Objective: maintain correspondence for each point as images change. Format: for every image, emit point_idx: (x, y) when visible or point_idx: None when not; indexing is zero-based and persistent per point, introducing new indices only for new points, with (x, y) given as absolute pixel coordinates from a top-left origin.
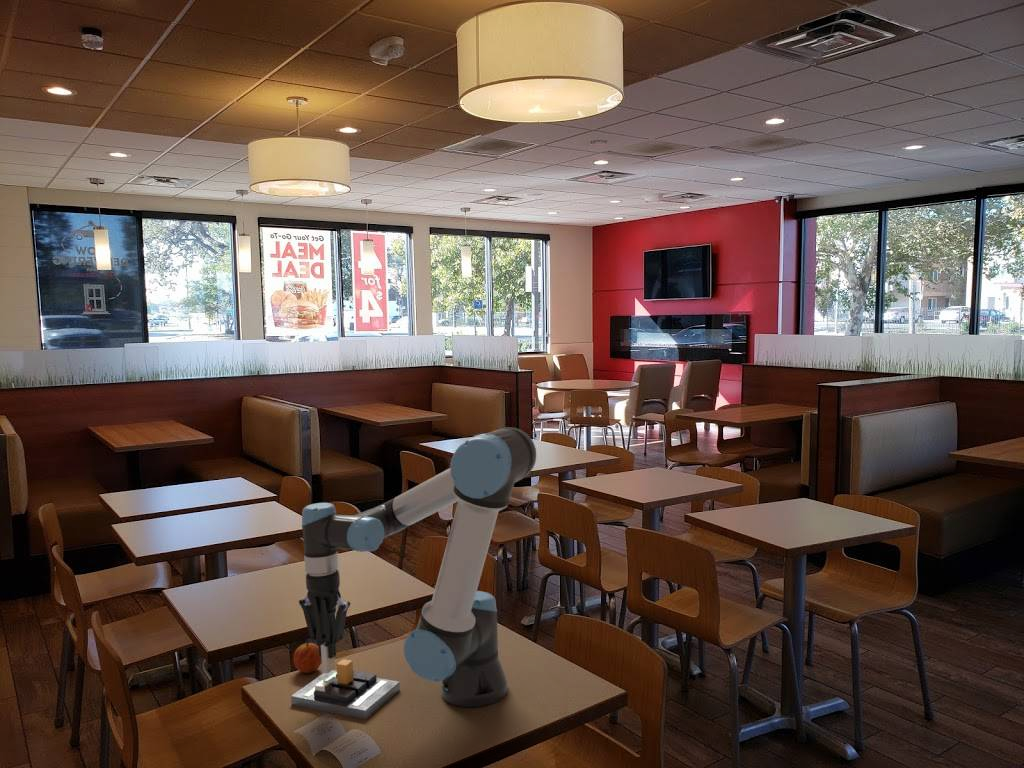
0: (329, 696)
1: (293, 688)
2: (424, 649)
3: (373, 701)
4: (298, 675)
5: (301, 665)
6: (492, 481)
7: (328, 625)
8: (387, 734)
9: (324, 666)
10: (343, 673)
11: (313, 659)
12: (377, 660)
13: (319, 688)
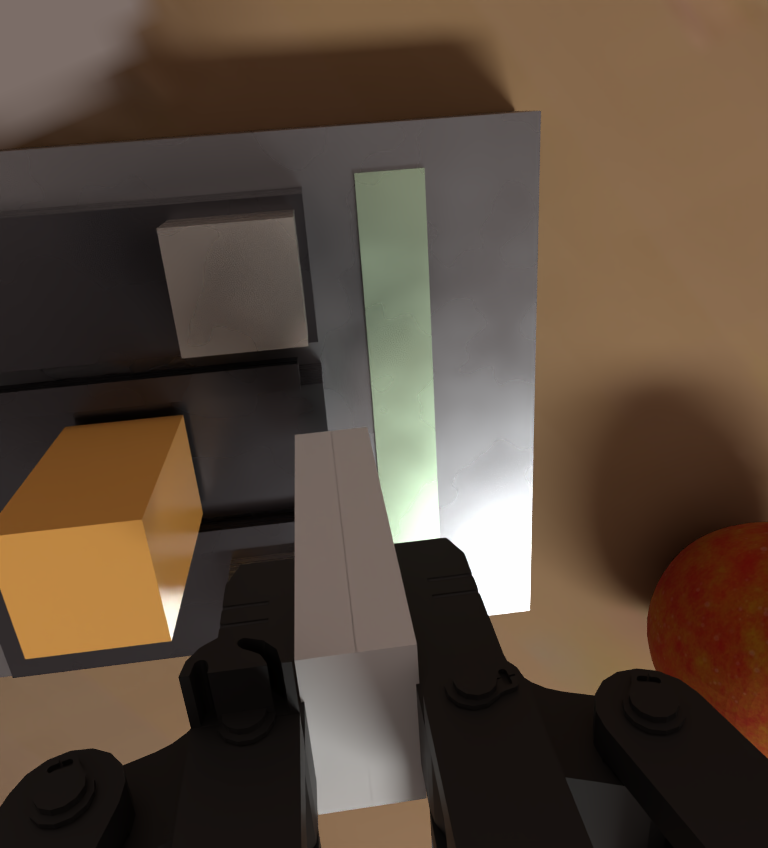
0: (100, 208)
1: (671, 339)
2: None
3: None
4: (750, 501)
5: (759, 540)
6: None
7: None
8: None
9: (336, 463)
10: (65, 474)
11: (694, 625)
12: (359, 835)
13: (234, 219)
